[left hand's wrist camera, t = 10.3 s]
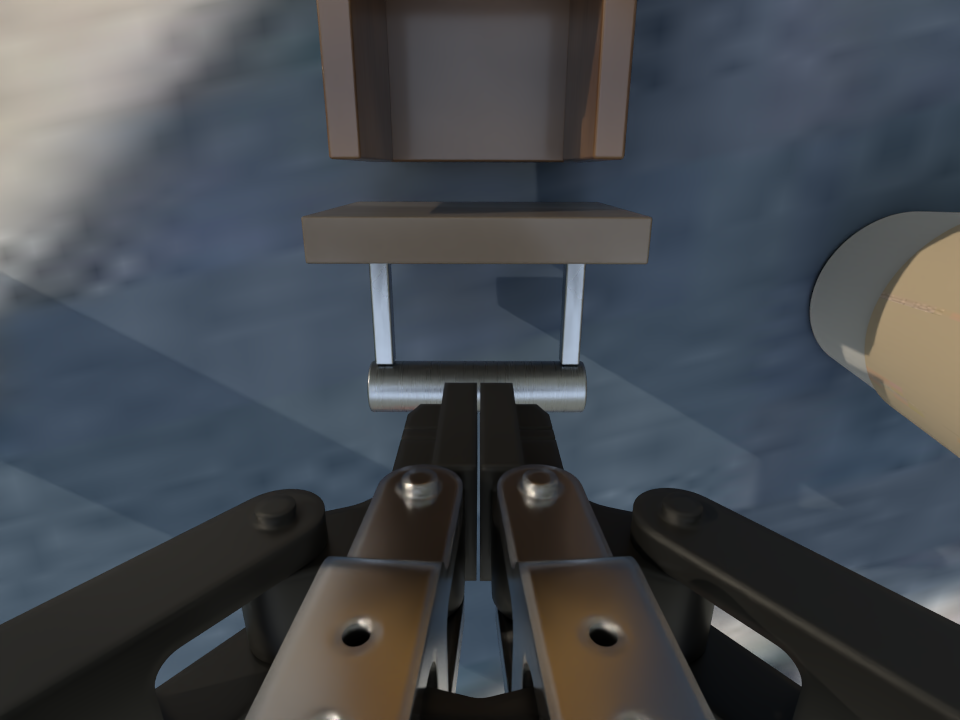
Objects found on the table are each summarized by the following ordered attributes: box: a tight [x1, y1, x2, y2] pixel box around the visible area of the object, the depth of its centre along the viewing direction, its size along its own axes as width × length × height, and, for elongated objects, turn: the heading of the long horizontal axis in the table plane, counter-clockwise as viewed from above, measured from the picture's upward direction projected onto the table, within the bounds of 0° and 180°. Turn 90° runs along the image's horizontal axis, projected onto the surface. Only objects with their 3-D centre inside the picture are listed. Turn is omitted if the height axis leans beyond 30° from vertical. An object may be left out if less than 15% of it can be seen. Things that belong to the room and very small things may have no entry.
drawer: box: [301, 0, 652, 412], centre depth 15 cm, size 24×9×7 cm, turn 0°
